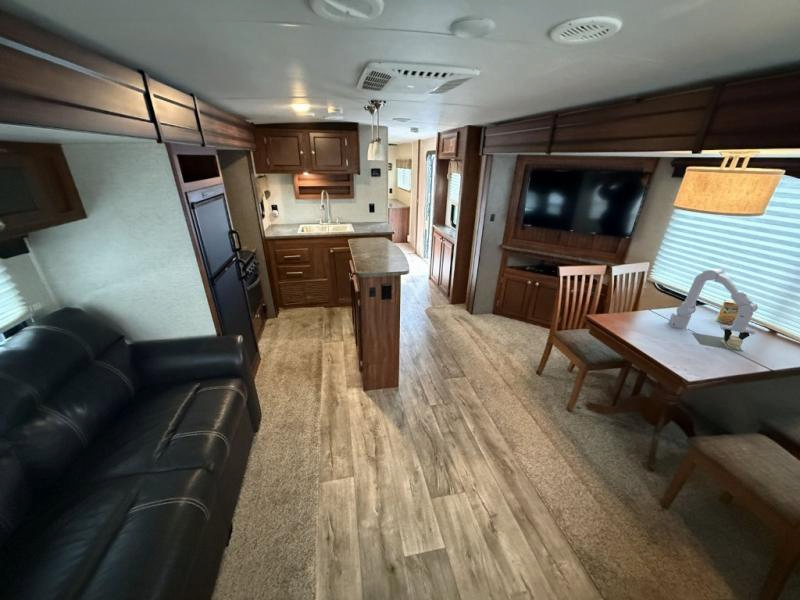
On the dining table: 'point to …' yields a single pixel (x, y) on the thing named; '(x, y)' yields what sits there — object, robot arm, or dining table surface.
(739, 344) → the maple block
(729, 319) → the candy box
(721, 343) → the rubber mat
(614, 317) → the dining table surface
